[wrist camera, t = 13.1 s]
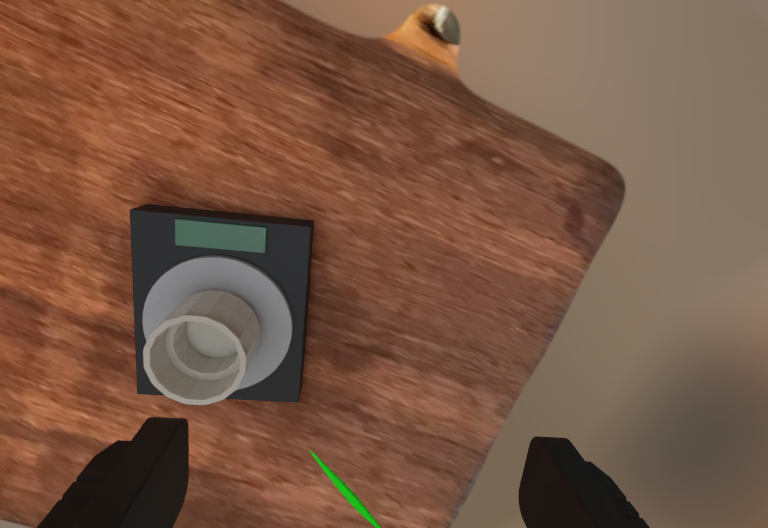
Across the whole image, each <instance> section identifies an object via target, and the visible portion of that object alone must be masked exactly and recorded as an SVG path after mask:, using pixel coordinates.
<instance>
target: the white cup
mask: <svg viewBox="0 0 768 528" xmlns="http://www.w3.org/2000/svg"><path fill="white" fill-rule="evenodd" d="M259 341H260V325H259V322H258V320H257V317H256V315H255V313H254V311H253V310H252V309H251V308H250V307H249V306H248V305H247V304H246V303H245V302H244V301H243V300H242V299H241V298H239V297H237V296H235V295H232V294H230V293H228V292H225V291H212V290H207V291H203V292H200V293H197V294H193V295H191V296H189V297H188V298H187V299H186V300H185V301H183V302H182V303H181V304H180V305H179V306H178V307H177V308H176V309H175V310H174V311H173V312H172V313H171V314H170V315H168V316H167V317H166V318H165V319H164V320H163V321H162V322H161V323H160V324H159V325H158V326H157V327H156V328H155V329H154V330H153V331H152V332H151V333H150V335H149V337H148V340H147V342H146V344H145V346H144V348H143V362H144V369H145V371H146V373H147V375H148V377H149V379H150V381H151V383H152V384H153V385H154V386H155V387H156V388H157V389H158V390H159V391H161V392H162V393H163V394H164V395H165V396H166V397H168V398H171V399H173V400H176V401H178V402H181V403H183V404H189V405H208V404H211V403H215V402H218V401H221V400H224V399H225V398H226V397H228V396H229V395H230V394H232V393H233V392H234V391H235V390H237V388H238V387H239V385H240V383H241V381H242V380H243V378H244V376H245V374H246V371H247V369H248V367H249V365H250V362H251V360H252V358H253V355H254V353H255V351H256V349H257V346H258V344H259Z"/></svg>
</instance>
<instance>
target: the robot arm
mask: <svg viewBox="0 0 768 528" xmlns="http://www.w3.org/2000/svg"><path fill="white" fill-rule="evenodd" d="M188 478H189V447H188V422H187V420H186V419H183V418H162V417H150V418H148V419H147V420H146V421H145V423H144V424H143V425H142V427H141V428H140V429H139V431H138V432H137V434H136V435H135V436H134V438H133V439H132V441H119V440H118V441H116V442H115V443H113V444H112V445H110V446H109V447H108V448H106V449H105V450H103V451H102V452H100V453H99V454H97V455H96V456H95V457H93V459H92V460H91V461H90V462H89V463H88V465H87V466H86V467H85V468H84V470H83V471H82V472H81V473H80V475H79V476H78V477H77V480H76V482H73V483H72V485H71V486H70V487H69V488H68V490H67V491H66V492H65V493H64V495H63V498H62V500H59V501H58V502H57V503H56V505H55V506H54V507H53V508H52V510H51V511H50V512H49V513H48V515H47V516H46V517H45V518H44V520H43V521H42V522H41V523H40V524H39V526H38V527H37V528H173V526H174V523H175V521H176V519H177V517H178V515H179V512H180V510H181V508H182V505H183V503H184V499H185V496H186V491H187V486H188ZM519 506H520V511H521V515H522V518H523V520H524V522H525V525H526V527H527V528H649V526H648V525H647V524H646V522H645V521H644V520H643V519H642V518H639V513H638V512H637V511H636V510H635V508H634V507H633V506H632V505H631V503H630V502H627V500H626V497H625V495H624V494H623V493H622V491H621V490H620V489H619V488H618V486H617V485H616V484H615V483H614V481H613V480H612V479H611V478H610V477H609V476H608V475H606V474H605V473H604V472H603V471H601V470H600V469H599V468H598V467H596V466H595V465H594V464H593V463H591V462H586V461H584V459H583V458H582V456H581V455H580V454H579V452H578V451H577V450H576V448H575V447H574V446H573V444H572V443H571V442H570V441H569V440H568V439H566V438H554V437H534V438H533V439H532V440H531V442H530V446H529V449H528V454H527V459H526V462H525V467H524V471H523V475H522V479H521V483H520V488H519Z"/></svg>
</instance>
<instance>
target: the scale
mask: <svg viewBox="0 0 768 528" xmlns="http://www.w3.org/2000/svg"><path fill="white" fill-rule="evenodd" d="M130 222H131V247H132V271H133V296H134V320H135V345H136V369H137V393H138V394H148V395H164V394H163V393H162V392H161V391H159V390H158V389H157V388H156V387H155V386H154V385H153V384H152V383H151V381H150V379H149V377H148V375H147V373H146V371H145V369H144V362H143V348H144V346H145V344H146V342H147V340H148V337H149V335H150V333H151V332H152V331H153V330H154V329H155V328H156V327H157V326H158V325H159V324H160V323H161V322H162V321H163V320H164V319H165V318H166V317H167V316H168V315H170V314H171V313H172V312H173V311H174V310H175V309H176V308H177V307H178V306H179V305H180V304H181V303H182V302H183V301H185V300H186V299H187V298H188V297H189V296H191V295H193V294H197V293H200V292H203V291H207V290H212V291H225V292H228V293H230V294H232V295H235V296H237V297H239V298H241V299H242V300H243V301H244V302H245V303H246V304H247V305H248V306H249V307H250V308H251V309H252V310H253V311H254V313H255V315H256V317H257V320H258V322H259V325H260V341H259V344H258V346H257V349H256V351H255V353H254V355H253V358H252V360H251V362H250V365H249V367H248V369H247V371H246V374H245V376H244V378H243V380H242V381H241V383H240V385H239V387H238V388H237V390H235V391H234V392H233V393H232V394H230V395H229V396H228V397H226V398H225V399H242V400H260V401H279V402H299V399H300V393H301V388H302V379H303V365H304V351H305V337H306V323H307V309H308V296H309V282H310V268H311V254H312V240H313V226H314V221H312V220H302V219H291V218H281V217H271V216H261V215H251V214H240V213H230V212H220V211H210V210H199V209H189V208H179V207H169V206H159V205H148V204H146V205H143V206H140V207H137V208H134V209H131V210H130Z"/></svg>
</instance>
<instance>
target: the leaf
mask: <svg viewBox="0 0 768 528" xmlns="http://www.w3.org/2000/svg"><path fill="white" fill-rule="evenodd" d="M309 451H310V450H309ZM310 452H311V451H310ZM311 454H312V455H313V456H314V458H315V459H316V460H317V462H318V463H319V464H320V466H321V467H322V468H323V470H324V471H325V472H326V474H327V475H328V476H329V478H330V479H331V480H332V482H333V483H334V484H335V485H336V487H337V488H338V489H339V491H340V492H341V493H342V494H343V495H344V497H345V498H346V499H347V500H348V501H349V502H350V503H351V504H352V505H353V507H354V508H355V509H356V510H357V511H358V512H359V513H360V514H362V515H363V516H364V517H365V518H366V519H367V520H368V521H369V522H370V523H371V524H372V525H373V526H374V527H376V528H381V527H380V526H379V524H378V523H377V522H376V520H375V519H374V518H373V516H372V515H371V514H370V512H369V511H368V510H367V509H366V507H365V506H364V505H363V503H362V502H361V501H360V500H359V499H358V497H357V496H356V495H355V494H354V493H353V492H352V491H351V490H350V489H349V488H348V487H347V486H346V484H345V483H344V482H343V481H342V480H340V479H339V478H338V477H337V476H336V475H335V474H334V473H333V472H332V471H331V470H330V469H329V468H328V467H327V466H326V465H325V464H324V463H323V462H322V461H321V460H320V459H319V458H318V457H317V456H316V455H315V454H314V453H313V452H311Z"/></svg>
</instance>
